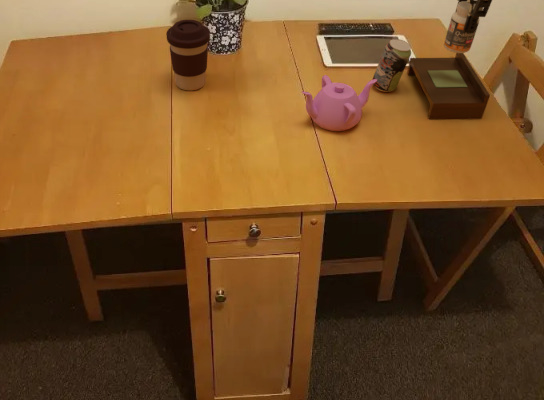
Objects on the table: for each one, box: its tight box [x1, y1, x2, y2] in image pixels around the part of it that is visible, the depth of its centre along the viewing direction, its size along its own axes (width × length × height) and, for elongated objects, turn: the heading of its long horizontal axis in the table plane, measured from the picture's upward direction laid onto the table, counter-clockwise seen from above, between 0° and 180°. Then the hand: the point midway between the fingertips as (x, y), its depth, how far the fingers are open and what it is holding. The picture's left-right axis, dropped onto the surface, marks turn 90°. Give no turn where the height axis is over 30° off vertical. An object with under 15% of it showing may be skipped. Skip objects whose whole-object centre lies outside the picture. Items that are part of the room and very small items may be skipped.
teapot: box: [301, 74, 377, 132], centre depth 128 cm, size 12×14×9 cm
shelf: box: [406, 53, 491, 120], centre depth 136 cm, size 20×12×6 cm, turn 1°
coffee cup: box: [165, 19, 211, 91], centre depth 137 cm, size 10×10×15 cm
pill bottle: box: [443, 1, 480, 54], centre depth 126 cm, size 6×6×10 cm
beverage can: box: [371, 38, 412, 93], centre depth 136 cm, size 6×7×12 cm
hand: (463, 24), depth 126 cm, fingers closed on pill bottle, 5 cm apart
